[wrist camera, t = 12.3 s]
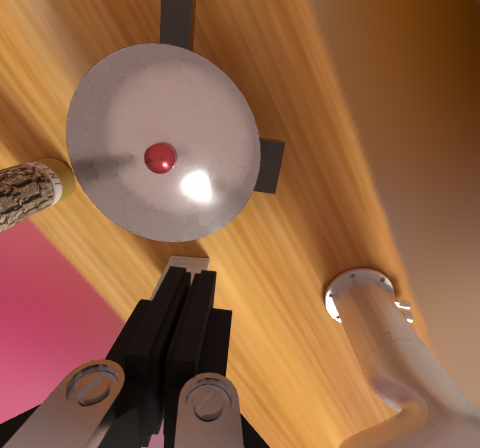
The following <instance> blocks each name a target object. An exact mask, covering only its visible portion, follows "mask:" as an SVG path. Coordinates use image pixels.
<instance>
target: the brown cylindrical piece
mask: <svg viewBox="0 0 480 448" xmlns="http://www.w3.org/2000/svg"><path fill="white" fill-rule="evenodd" d="M74 188H75V179H74V175H73V173H72V171H71V170H70V169H69V167H68V166H67V165H65V164H64V163H63V162H61V161H59V160H57V159H54V158H42V159H39V160H35V161H32V162H27V163H24V164H20V165H17V166H13V167H9V168H6V169H2V170H0V232H3V231H5V230H6V229H8V228H10V227H12V226H14V225H16V224H18V223H19V222H21V221H23V220H25V219H27V218H29V217H31V216H33V215H35V214H36V213H38V212H40V211H42V210H44V209H46V208H48V207H50V206H51V205H53V204H55V203H57V202H59V201H60V200H62V199H64V198H66V197H68V196H69V195H70V194H71V193H72V192H73V190H74Z"/></svg>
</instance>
